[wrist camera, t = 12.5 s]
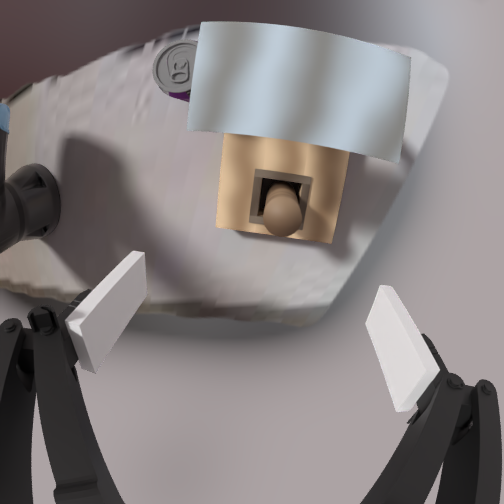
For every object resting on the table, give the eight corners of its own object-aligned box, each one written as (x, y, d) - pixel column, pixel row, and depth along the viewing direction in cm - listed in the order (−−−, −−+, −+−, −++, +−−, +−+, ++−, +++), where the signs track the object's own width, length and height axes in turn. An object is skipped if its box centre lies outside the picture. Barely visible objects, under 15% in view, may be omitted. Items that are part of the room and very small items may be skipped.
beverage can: (230, 106, 35) (211, 95, 24) (181, 106, 36) (145, 99, 25) (234, 60, 32) (216, 33, 21) (185, 62, 33) (151, 39, 22)
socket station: (221, 218, 42) (180, 284, 24) (237, 71, 33) (201, 22, 15) (326, 233, 42) (358, 309, 24) (351, 88, 33) (410, 57, 15)
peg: (269, 178, 39) (265, 197, 28) (297, 182, 39) (304, 202, 28) (265, 205, 41) (260, 234, 30) (292, 209, 41) (298, 239, 30)
